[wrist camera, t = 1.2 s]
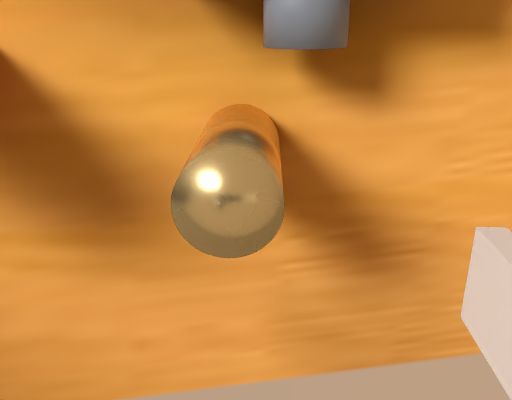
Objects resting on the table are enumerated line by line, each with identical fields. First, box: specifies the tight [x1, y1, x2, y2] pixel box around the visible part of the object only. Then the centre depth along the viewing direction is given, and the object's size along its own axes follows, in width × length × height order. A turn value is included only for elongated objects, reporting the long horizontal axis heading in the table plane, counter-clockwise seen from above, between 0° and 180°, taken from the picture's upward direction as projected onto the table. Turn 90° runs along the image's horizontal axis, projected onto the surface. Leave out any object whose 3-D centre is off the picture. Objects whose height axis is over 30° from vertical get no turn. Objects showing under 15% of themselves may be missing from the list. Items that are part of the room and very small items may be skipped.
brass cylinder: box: [171, 104, 284, 258], centre depth 21 cm, size 4×4×9 cm
